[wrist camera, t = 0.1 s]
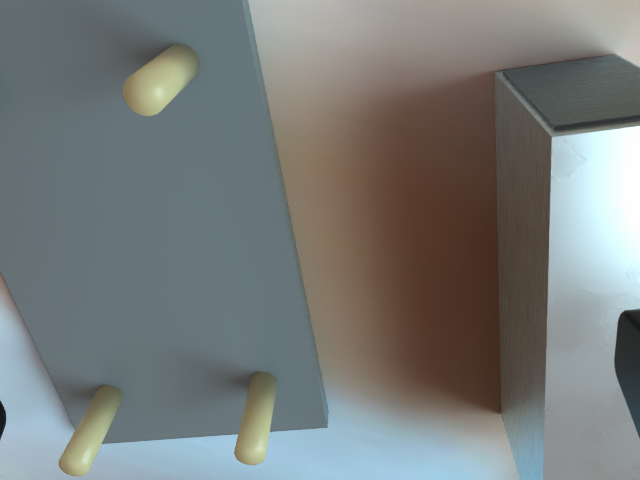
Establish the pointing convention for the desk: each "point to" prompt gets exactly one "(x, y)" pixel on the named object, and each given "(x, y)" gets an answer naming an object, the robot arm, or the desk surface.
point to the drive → (567, 263)
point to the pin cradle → (151, 224)
